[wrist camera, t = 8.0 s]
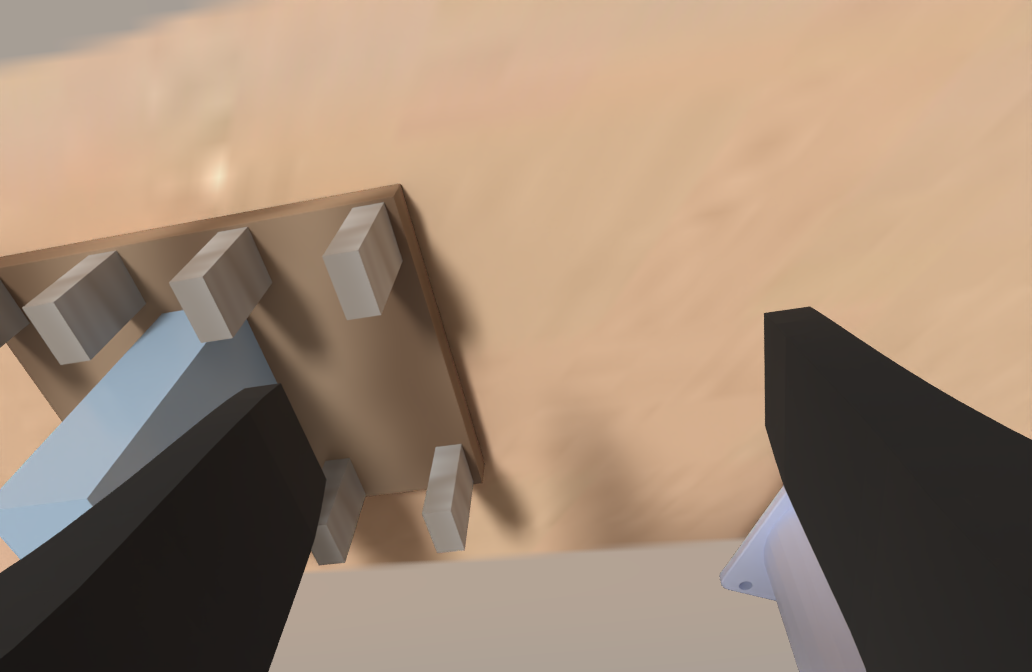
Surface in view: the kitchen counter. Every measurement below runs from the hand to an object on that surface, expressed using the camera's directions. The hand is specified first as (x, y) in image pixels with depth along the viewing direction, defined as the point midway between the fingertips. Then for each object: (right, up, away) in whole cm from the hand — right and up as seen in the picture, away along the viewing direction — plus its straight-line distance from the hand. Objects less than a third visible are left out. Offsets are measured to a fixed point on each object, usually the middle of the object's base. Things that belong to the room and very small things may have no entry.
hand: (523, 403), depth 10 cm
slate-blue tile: (-9, -1, +12) cm, 15 cm away
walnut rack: (-9, 0, +13) cm, 16 cm away
